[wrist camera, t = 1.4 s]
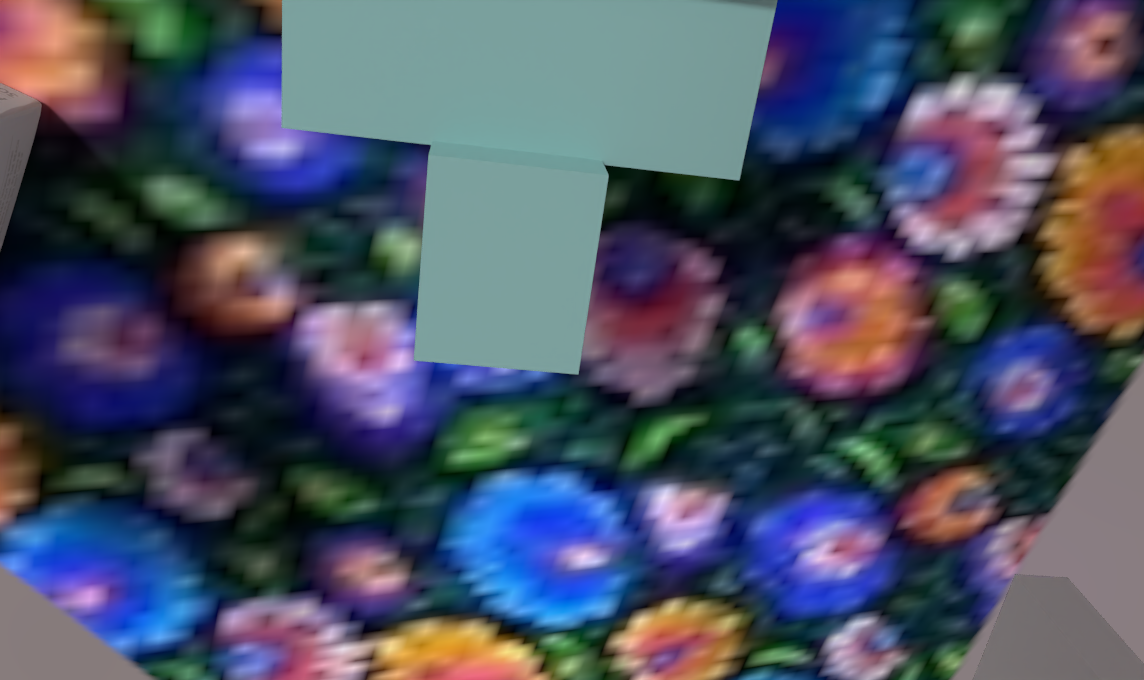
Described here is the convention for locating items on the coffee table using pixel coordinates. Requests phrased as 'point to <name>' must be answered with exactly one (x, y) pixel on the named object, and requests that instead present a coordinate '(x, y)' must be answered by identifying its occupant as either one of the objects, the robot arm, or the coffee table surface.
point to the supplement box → (14, 146)
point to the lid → (525, 137)
